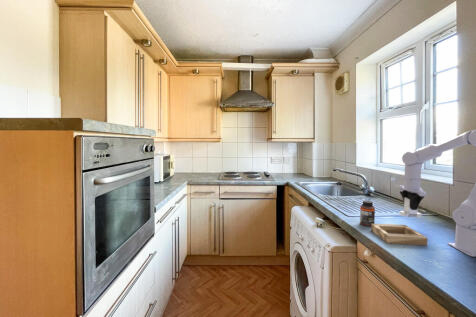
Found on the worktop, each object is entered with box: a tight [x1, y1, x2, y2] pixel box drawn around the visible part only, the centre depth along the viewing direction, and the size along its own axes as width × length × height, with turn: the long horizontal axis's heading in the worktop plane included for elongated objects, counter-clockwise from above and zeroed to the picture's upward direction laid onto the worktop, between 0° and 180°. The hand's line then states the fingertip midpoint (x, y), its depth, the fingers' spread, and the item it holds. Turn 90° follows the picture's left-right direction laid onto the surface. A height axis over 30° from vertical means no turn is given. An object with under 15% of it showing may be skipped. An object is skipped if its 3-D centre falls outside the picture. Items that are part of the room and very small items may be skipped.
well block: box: [370, 223, 428, 246], centre depth 89 cm, size 13×14×3 cm
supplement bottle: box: [359, 199, 376, 227], centre depth 103 cm, size 6×6×11 cm
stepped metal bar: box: [399, 197, 422, 218], centre depth 98 cm, size 4×7×8 cm, turn 84°
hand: (410, 208), depth 98 cm, fingers closed on stepped metal bar, 3 cm apart
